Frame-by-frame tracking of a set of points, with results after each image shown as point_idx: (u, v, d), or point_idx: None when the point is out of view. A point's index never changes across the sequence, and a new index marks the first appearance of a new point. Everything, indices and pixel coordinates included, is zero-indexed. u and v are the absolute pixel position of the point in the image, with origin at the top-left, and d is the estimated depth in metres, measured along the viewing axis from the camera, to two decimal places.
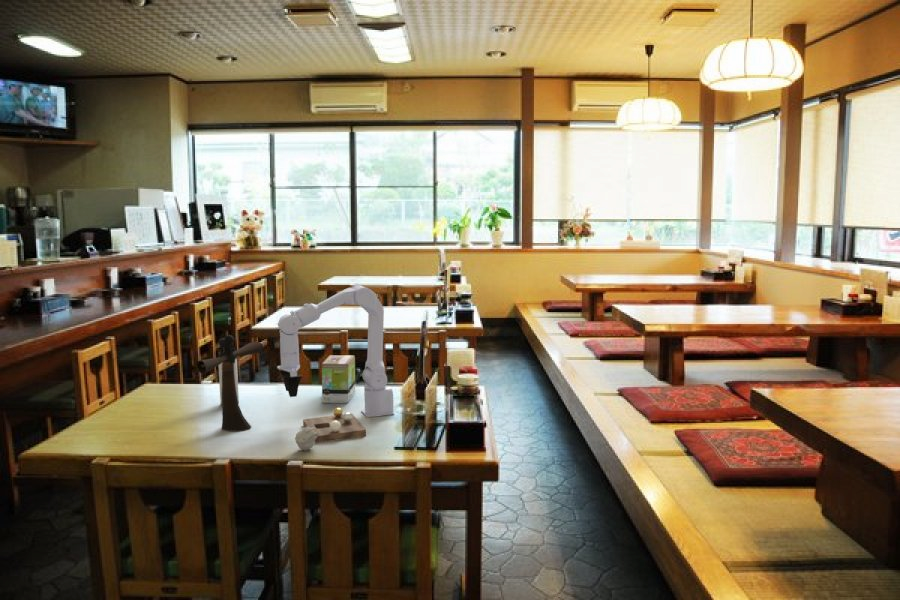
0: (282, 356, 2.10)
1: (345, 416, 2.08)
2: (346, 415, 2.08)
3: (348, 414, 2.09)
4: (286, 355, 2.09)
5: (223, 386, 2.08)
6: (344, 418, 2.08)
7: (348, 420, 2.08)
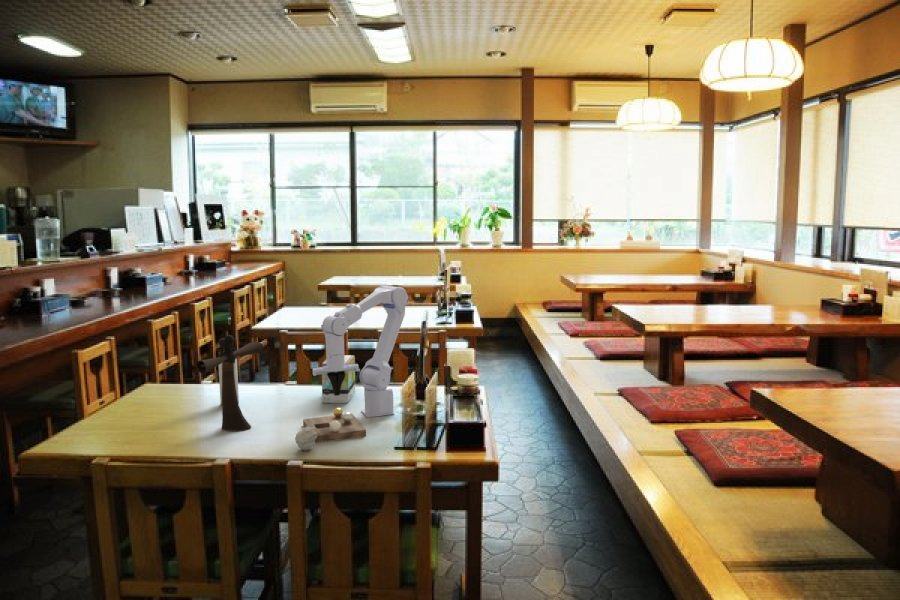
0: None
1: (345, 416, 2.08)
2: (346, 415, 2.08)
3: (348, 414, 2.09)
4: None
5: (223, 386, 2.08)
6: (344, 418, 2.08)
7: (348, 420, 2.08)
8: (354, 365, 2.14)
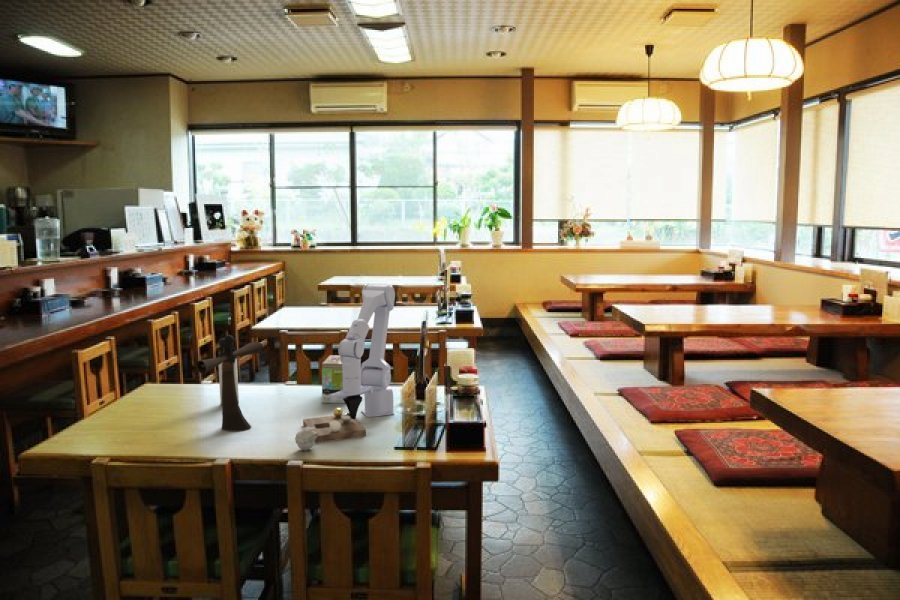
0: None
1: (343, 417, 2.08)
2: (344, 416, 2.08)
3: (346, 414, 2.08)
4: None
5: (223, 386, 2.08)
6: (343, 419, 2.08)
7: (347, 420, 2.08)
8: (368, 387, 2.13)
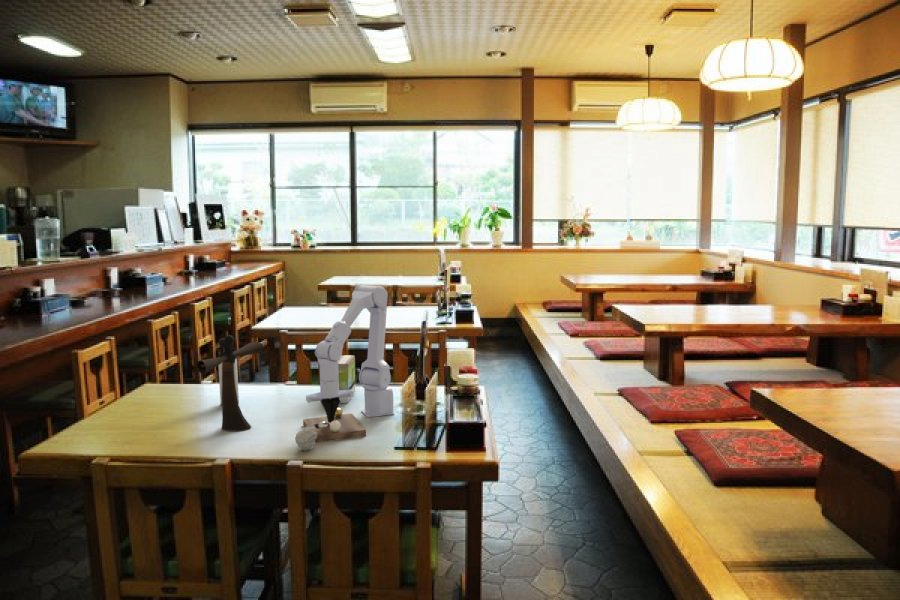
0: None
1: None
2: (325, 422, 2.08)
3: (327, 423, 2.07)
4: None
5: (223, 386, 2.08)
6: None
7: (322, 423, 2.06)
8: (348, 391, 2.09)
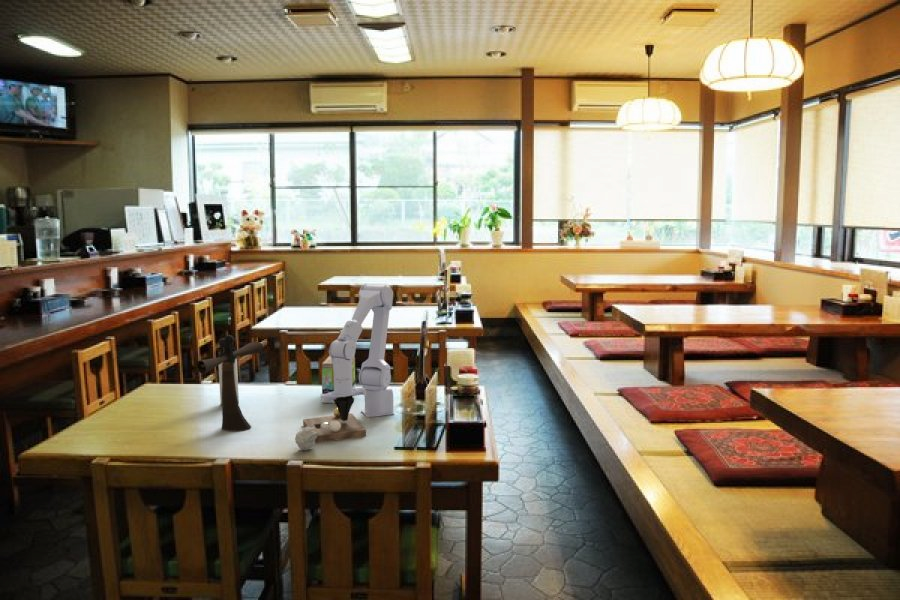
0: None
1: (327, 422, 2.07)
2: (328, 423, 2.07)
3: (329, 425, 2.07)
4: None
5: (223, 386, 2.08)
6: (325, 422, 2.06)
7: (325, 426, 2.05)
8: (361, 389, 2.11)
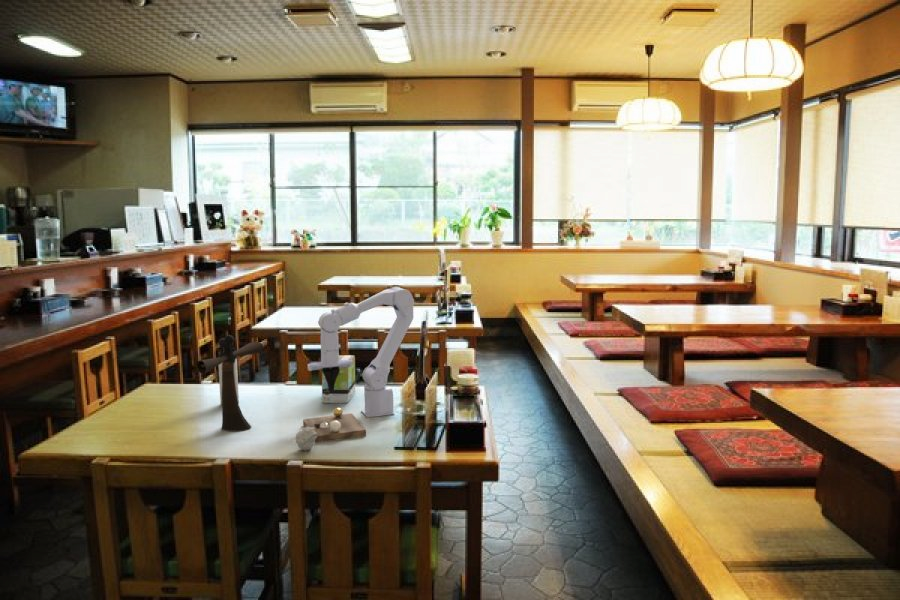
0: None
1: (325, 423, 2.06)
2: (327, 423, 2.06)
3: (328, 425, 2.06)
4: None
5: (223, 386, 2.08)
6: (323, 423, 2.06)
7: (324, 427, 2.05)
8: (348, 361, 2.20)
